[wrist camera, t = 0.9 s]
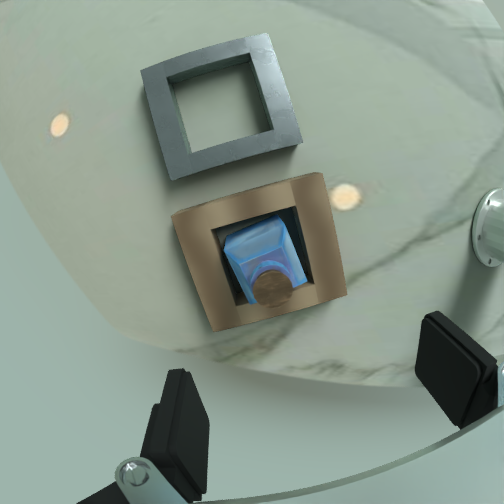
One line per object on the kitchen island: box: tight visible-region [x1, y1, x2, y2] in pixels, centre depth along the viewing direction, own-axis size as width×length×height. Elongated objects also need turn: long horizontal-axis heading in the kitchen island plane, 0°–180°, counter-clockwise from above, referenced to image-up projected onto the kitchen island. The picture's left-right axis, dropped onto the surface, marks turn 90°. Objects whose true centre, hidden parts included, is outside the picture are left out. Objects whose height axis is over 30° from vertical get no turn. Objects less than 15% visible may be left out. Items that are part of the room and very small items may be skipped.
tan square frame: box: [171, 172, 347, 332], centre depth 33 cm, size 16×14×4 cm
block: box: [140, 33, 303, 181], centre depth 28 cm, size 14×13×3 cm
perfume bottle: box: [224, 214, 307, 309], centre depth 29 cm, size 6×6×12 cm
